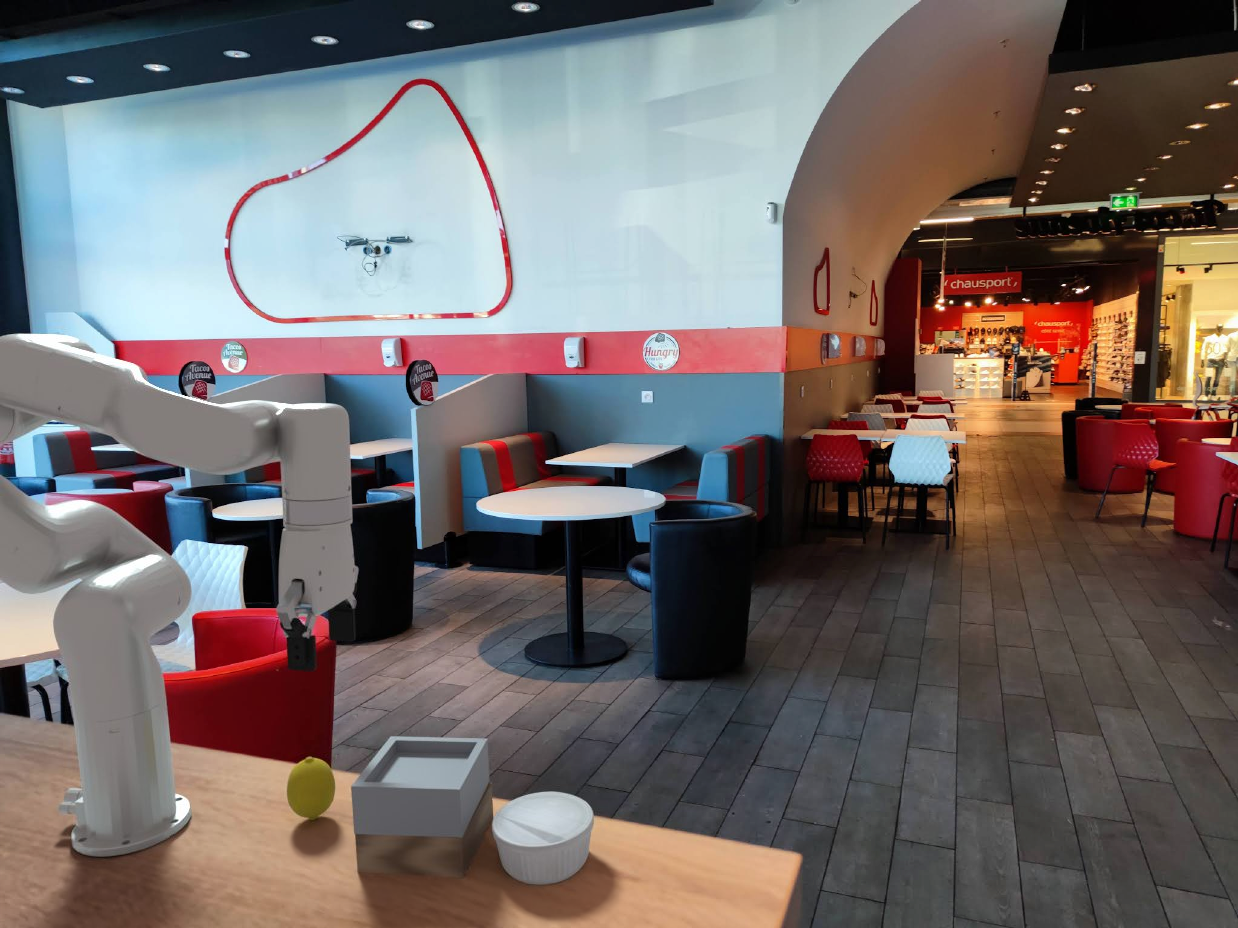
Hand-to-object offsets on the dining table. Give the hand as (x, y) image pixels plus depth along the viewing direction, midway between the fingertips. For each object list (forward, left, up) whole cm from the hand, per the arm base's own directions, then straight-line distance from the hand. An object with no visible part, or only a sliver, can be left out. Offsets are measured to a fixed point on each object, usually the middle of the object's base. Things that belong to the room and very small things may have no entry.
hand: (323, 654), depth 101 cm
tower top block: (+13, -3, -17) cm, 21 cm away
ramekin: (+27, -5, -22) cm, 35 cm away
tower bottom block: (+13, -3, -22) cm, 25 cm away
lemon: (-3, +1, -22) cm, 22 cm away
